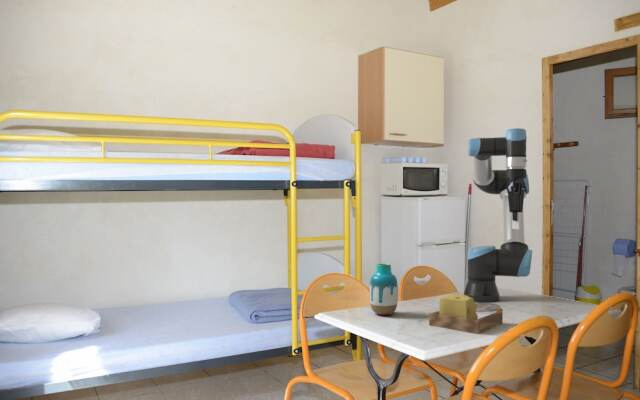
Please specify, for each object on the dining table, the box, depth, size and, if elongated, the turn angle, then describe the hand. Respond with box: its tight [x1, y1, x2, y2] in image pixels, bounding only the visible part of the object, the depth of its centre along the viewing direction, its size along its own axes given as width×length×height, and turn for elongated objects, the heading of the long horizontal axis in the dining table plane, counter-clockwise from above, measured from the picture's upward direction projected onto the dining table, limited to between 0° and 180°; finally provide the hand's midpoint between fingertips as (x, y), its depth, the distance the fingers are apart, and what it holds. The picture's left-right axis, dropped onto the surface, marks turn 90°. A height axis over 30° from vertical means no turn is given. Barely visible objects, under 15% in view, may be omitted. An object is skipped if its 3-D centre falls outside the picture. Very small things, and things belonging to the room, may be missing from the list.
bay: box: [428, 307, 504, 335], centre depth 188 cm, size 18×20×5 cm
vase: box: [369, 263, 399, 316], centre depth 204 cm, size 11×11×19 cm
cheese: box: [438, 292, 479, 320], centre depth 187 cm, size 10×11×10 cm
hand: (516, 228), depth 208 cm, fingers closed
